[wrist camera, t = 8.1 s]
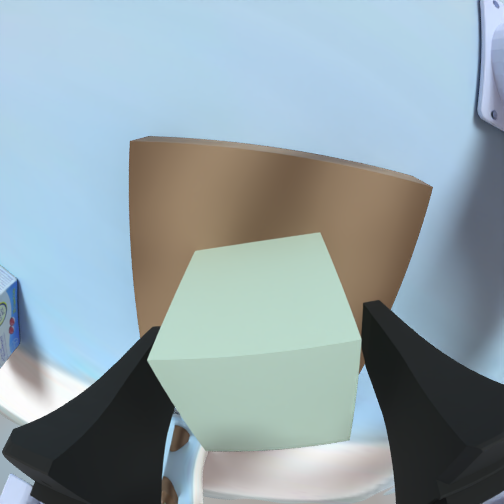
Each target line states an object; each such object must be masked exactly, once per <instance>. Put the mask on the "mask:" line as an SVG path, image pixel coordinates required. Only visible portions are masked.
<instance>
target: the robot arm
mask: <svg viewBox="0 0 504 504" xmlns="http://www.w3.org/2000/svg"><path fill="white" fill-rule="evenodd" d="M494 5H495V6H494ZM480 7H481V26H482V56H481V76H480V88H479V98H478V107H477V111H478V115H479V116H480V118H481V119H482V120H484V121H486V122H488V123H489V124H491V125H493V126H495V127H496V128H498V129H500V130H502V131H503V132H504V4H502V3H501V2H500V1H498V0H480ZM491 112H492V113H493V118H492V117H491ZM160 328H161V326H154V327H152V328H151V329H149V330H148V331H147V332H146V333H145V334H144V335H143V336H142V337H141V338H140V339H139V340H138V341H137V342H136V343H135V344H134V345H133V346H132V347H131V348H130V350H129V351H128V352H127V353H126V354H125V355H124V356H123V357H122V358H121V359H120V360H119V361H118V362H117V363H116V364H114V365H113V366H112V367H111V368H110V369H109V370H108V371H107V372H106V373H105V374H104V375H103V376H102V377H101V378H100V379H98V380H97V381H96V382H95V383H94V384H92V385H91V386H90V387H89V388H87V389H86V390H85V391H84V392H82V393H81V394H80V395H78V396H77V397H75V398H74V399H72V400H71V401H69V402H68V403H66V404H65V405H63V406H62V407H60V408H58V409H57V410H55V411H53V412H51V413H49V414H48V415H46V416H44V417H42V418H40V419H37V420H35V421H33V422H30V423H28V424H25V425H23V426H20V427H18V428H15V429H13V431H12V433H11V435H10V437H9V439H8V441H7V443H6V445H5V447H4V449H3V451H2V453H3V455H4V457H5V458H6V459H7V460H8V461H9V462H11V463H12V464H13V465H14V466H16V467H17V468H18V469H19V470H21V471H22V472H23V473H25V474H26V475H27V476H29V477H30V478H31V479H33V480H34V481H35V483H34V485H33V486H32V485H31V484H29V483H28V482H26V481H24V480H22V479H20V478H19V477H17V476H15V475H14V474H10V475H9V477H8V479H7V482H6V484H5V486H4V489H3V491H2V494H1V496H0V504H162V503H161V496H162V473H163V461H164V453H165V445H166V439H167V434H168V430H169V426H170V423H171V419H172V415H173V412H174V408H175V406H174V404H173V403H172V401H171V400H170V398H169V396H168V395H167V393H166V392H165V390H164V388H163V387H162V385H161V383H160V382H159V380H158V378H157V377H156V375H155V373H154V371H153V370H152V368H151V366H150V364H149V363H148V361H147V359H148V356H149V354H150V352H151V349H152V347H153V344H154V342H155V340H156V337H157V335H158V333H159V330H160ZM361 339H362V340H361V348H362V352H363V357H364V361H365V365H366V369H367V371H368V374H369V377H370V380H371V383H372V385H373V388H374V391H375V394H376V397H377V399H378V402H379V405H380V408H381V411H382V414H383V417H384V421H385V425H386V429H387V434H388V440H389V445H390V451H391V457H392V464H393V472H394V482H395V493H396V504H504V385H503V384H501V383H498V382H496V381H493V380H491V379H489V378H487V377H484V376H482V375H480V374H478V373H476V372H474V371H472V370H470V369H468V368H467V367H465V366H463V365H461V364H460V363H458V362H456V361H455V360H453V359H452V358H450V357H448V356H447V355H445V354H444V353H442V352H441V351H439V350H438V349H437V348H435V347H434V346H433V345H431V344H430V343H429V342H427V341H426V340H425V339H423V338H422V337H421V336H420V335H418V334H417V333H416V332H415V331H414V330H413V329H411V328H410V327H409V326H408V325H407V324H406V323H404V322H403V321H402V320H401V319H400V318H399V317H398V316H397V315H395V314H394V313H393V312H392V311H391V310H390V309H389V308H388V307H387V306H386V305H384V304H383V303H382V302H381V301H380V300H375V301H370V302H364V303H363V314H362V331H361Z"/></svg>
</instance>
